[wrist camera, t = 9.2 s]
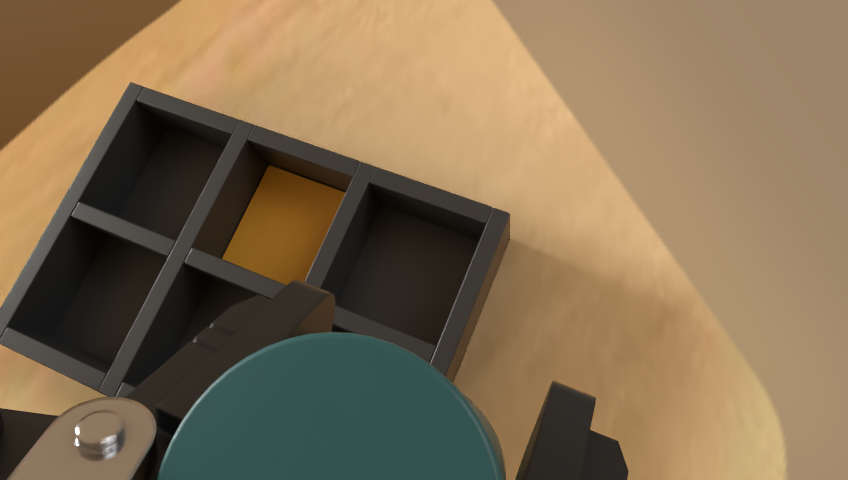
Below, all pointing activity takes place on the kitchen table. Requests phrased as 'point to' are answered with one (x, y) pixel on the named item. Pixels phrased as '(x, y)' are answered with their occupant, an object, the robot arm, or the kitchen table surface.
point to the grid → (240, 246)
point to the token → (333, 418)
